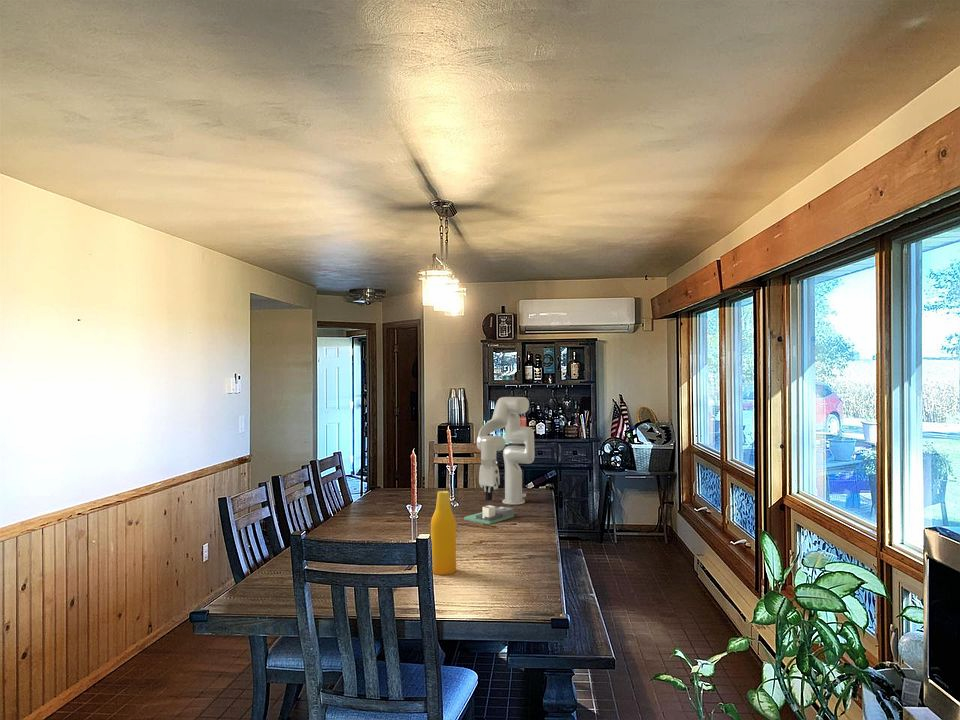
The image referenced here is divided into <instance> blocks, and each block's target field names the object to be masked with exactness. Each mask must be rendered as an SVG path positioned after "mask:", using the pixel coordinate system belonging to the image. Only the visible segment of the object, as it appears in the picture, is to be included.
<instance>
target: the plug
mask: <svg viewBox="0 0 960 720" xmlns="http://www.w3.org/2000/svg"><path fill="white" fill-rule="evenodd" d="M495 508H496V506H494V505H489V504H488V505H484V506H482V512H483V517H492V516H495Z"/></svg>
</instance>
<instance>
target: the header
mask: <svg viewBox="0 0 960 720" xmlns="http://www.w3.org/2000/svg"><path fill="white" fill-rule="evenodd" d="M499 518H502V514H497V513H495V516H492V517H483V514H479V515H476V519H481V520H482V519H484V520H486V521H492V520H495V519H499Z"/></svg>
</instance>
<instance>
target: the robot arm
mask: <svg viewBox="0 0 960 720" xmlns="http://www.w3.org/2000/svg"><path fill="white" fill-rule="evenodd" d="M529 407H530V401H529V399H528V398H527V397H525V396H524V397H523V396H501V397H500V398H498V400H497V401H496V403H495V407H494V410H493V414H492V417H491V419H489V420H488V421H487V422H486V423H484V424H483V425H482V426H481V428H479V431H478V435H477V438H476V447H477V449H478V450H479V451H480V465H479V472H478V484H479V487H480V488H482V489H483V492H484V494H485V501H487V502H490V501H492V500H493V492H494V490H498V489H499V486H500V484H501V483H500V482H501V481H500V479H501V477H500V470H499V466H498V463H499V462H498V461H497V452H501V451H503V452H502V456H503V463H504V499H502V502H501V503H502V504H504V505H513V506H514V505H524V504H525V502H526V501H525V499H524V498H525V497H527V494H526V493H523V472H522V471H523V469H522V468H521V466H520V465H519V464H527V465H528V464H529V465H530V464H532V463H533V462H534V461H535V454H536V453H535V433H534V430H533V428H532V427H530V426H521V417H520V415H523V414H526V413H527V412H528V411H529ZM501 429H505V430H504V431H505V433H504V434H505V435H504V436H505V438H504V437H503V436H500V435H489V434H492V433H494V432H496V431H500V430H501ZM506 442H507V443H508V444H516V445H508V446H506ZM518 444H519V445H518Z"/></svg>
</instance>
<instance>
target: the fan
mask: <svg viewBox="0 0 960 720" xmlns="http://www.w3.org/2000/svg"><path fill="white" fill-rule="evenodd" d="M495 513H497V514H502V517H507V516H511V515H514V516H515V508H513V507H506V506H499V507H498V506H497V507H495Z"/></svg>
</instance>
